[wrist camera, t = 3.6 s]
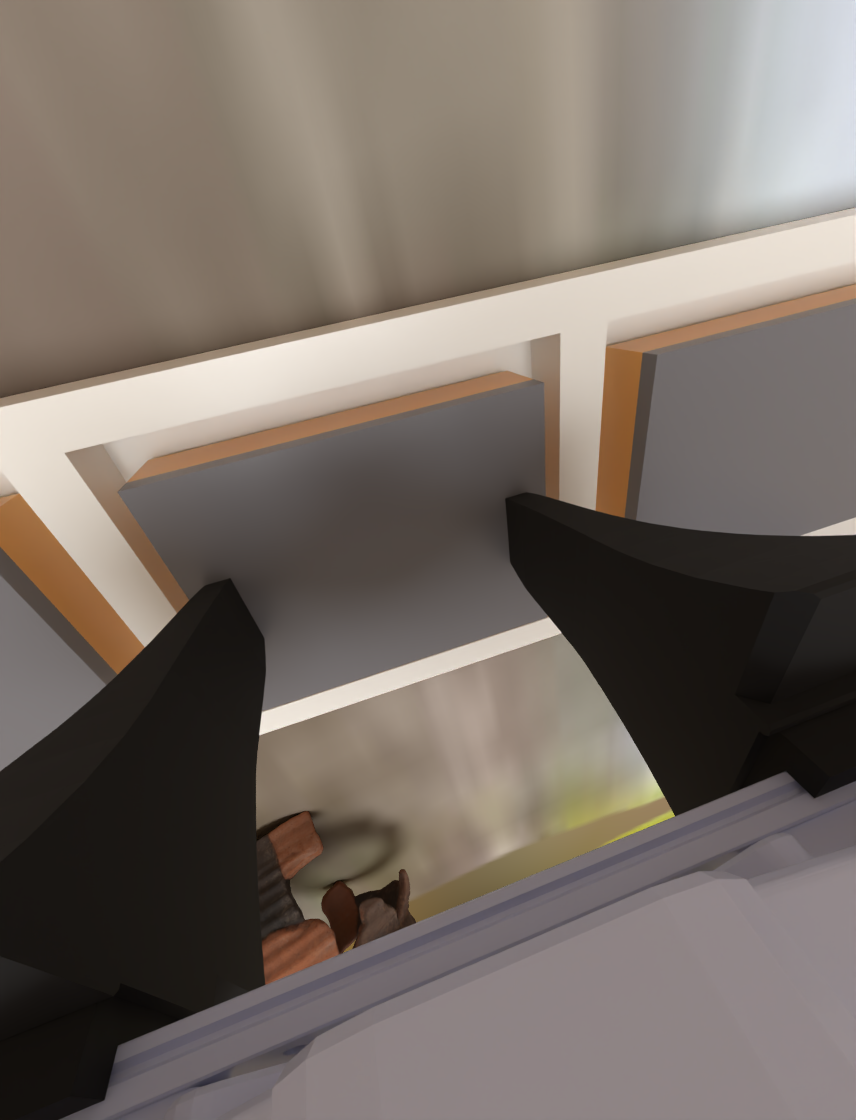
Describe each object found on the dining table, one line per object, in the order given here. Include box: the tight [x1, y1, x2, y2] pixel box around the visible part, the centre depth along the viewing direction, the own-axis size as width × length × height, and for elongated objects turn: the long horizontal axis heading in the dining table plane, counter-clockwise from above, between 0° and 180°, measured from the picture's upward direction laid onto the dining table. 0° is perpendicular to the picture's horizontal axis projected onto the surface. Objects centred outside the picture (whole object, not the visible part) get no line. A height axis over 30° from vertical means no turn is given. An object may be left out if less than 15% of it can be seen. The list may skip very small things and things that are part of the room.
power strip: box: [0, 207, 856, 735], centre depth 12 cm, size 45×11×3 cm, turn 100°
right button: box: [595, 284, 856, 536], centre depth 13 cm, size 9×7×2 cm
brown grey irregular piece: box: [256, 811, 416, 985], centre depth 22 cm, size 12×10×8 cm
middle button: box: [118, 371, 547, 711], centre depth 11 cm, size 9×7×2 cm
